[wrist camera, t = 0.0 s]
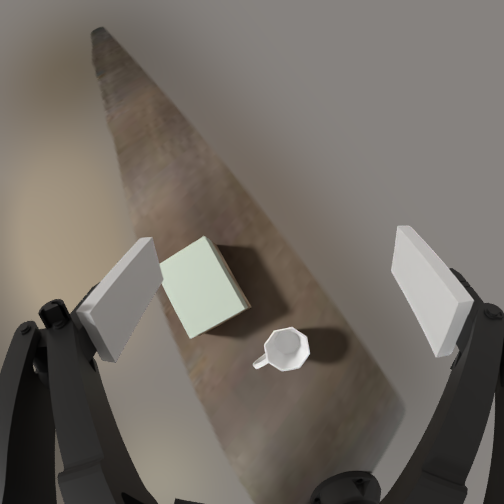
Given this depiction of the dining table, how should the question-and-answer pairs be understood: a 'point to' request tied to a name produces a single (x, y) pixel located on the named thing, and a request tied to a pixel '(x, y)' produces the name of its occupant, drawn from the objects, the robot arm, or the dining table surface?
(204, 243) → the top block
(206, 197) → the dining table surface
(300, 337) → the cup
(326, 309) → the dining table surface
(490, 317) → the robot arm
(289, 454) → the dining table surface
